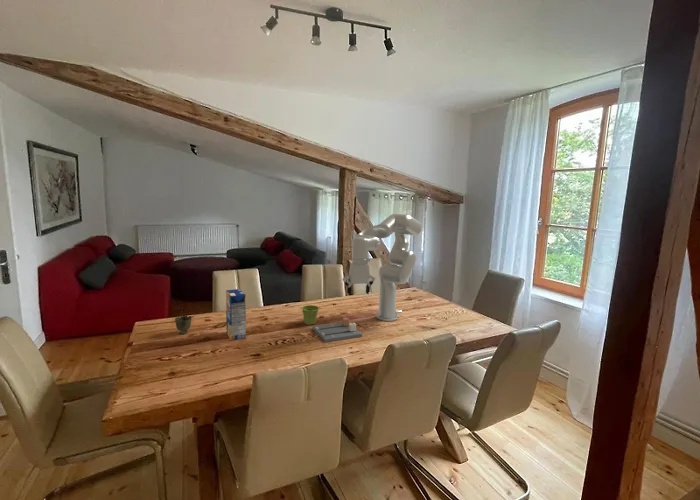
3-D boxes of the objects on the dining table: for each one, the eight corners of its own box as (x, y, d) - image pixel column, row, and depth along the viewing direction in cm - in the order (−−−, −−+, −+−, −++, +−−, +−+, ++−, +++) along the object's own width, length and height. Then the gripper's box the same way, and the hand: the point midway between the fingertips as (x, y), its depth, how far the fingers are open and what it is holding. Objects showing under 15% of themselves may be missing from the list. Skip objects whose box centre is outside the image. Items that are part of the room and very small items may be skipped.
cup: (195, 331, 185) (194, 316, 184) (184, 336, 178) (183, 321, 177) (183, 329, 187) (182, 314, 186) (172, 334, 180) (171, 318, 179)
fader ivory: (353, 329, 192) (354, 322, 192) (356, 330, 190) (356, 324, 189) (348, 329, 191) (349, 323, 190) (350, 331, 189) (351, 324, 188)
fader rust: (347, 323, 199) (347, 317, 199) (349, 325, 197) (349, 318, 196) (342, 324, 198) (342, 318, 197) (344, 326, 196) (344, 319, 195)
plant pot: (315, 326, 198) (316, 311, 197) (298, 325, 200) (299, 309, 198) (320, 321, 207) (321, 306, 206) (304, 319, 209) (304, 304, 208)
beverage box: (231, 340, 176) (231, 296, 172) (226, 332, 185) (225, 290, 182) (245, 338, 179) (245, 294, 176) (240, 330, 189) (240, 288, 185)
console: (346, 324, 204) (346, 320, 203) (361, 336, 188) (362, 331, 187) (312, 329, 195) (312, 324, 194) (325, 342, 179) (325, 337, 178)
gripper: (373, 259, 195) (371, 291, 197) (341, 260, 190) (340, 292, 193) (378, 262, 187) (376, 295, 190) (345, 263, 183) (344, 296, 186)
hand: (358, 293), depth 192 cm, fingers open, 9 cm apart
